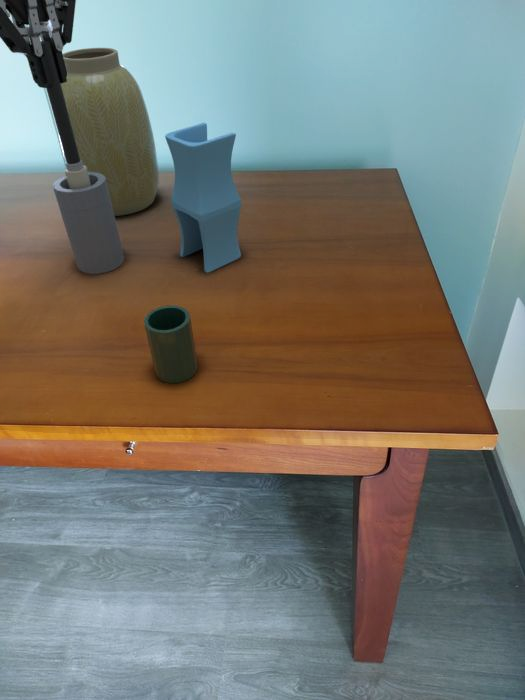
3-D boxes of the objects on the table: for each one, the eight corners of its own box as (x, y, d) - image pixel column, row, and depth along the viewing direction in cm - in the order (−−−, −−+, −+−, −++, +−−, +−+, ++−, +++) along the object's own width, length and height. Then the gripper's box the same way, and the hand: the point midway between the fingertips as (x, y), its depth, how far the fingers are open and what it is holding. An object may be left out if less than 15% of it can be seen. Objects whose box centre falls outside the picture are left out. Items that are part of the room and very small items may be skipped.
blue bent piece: (244, 255, 89) (236, 133, 76) (207, 273, 85) (192, 147, 72) (216, 239, 93) (204, 122, 81) (179, 255, 90) (160, 135, 77)
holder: (181, 388, 64) (171, 337, 59) (146, 374, 67) (134, 324, 62) (206, 362, 68) (198, 312, 63) (172, 350, 70) (163, 300, 65)
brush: (85, 212, 81) (40, 45, 66) (70, 208, 82) (23, 44, 68) (100, 204, 83) (59, 40, 69) (85, 200, 84) (42, 39, 70)
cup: (102, 278, 85) (79, 195, 76) (67, 267, 88) (41, 186, 79) (133, 256, 90) (115, 176, 81) (99, 246, 93) (79, 168, 84)
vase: (86, 228, 99) (42, 69, 81) (72, 195, 111) (31, 50, 94) (174, 209, 104) (150, 55, 86) (151, 179, 116) (126, 39, 99)
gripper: (32, -81, 66) (70, 71, 77) (-67, -77, 57) (-8, 95, 68) (76, -83, 63) (108, 75, 74) (-22, -79, 54) (32, 100, 65)
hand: (52, 84), depth 71 cm, fingers closed on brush, 2 cm apart
